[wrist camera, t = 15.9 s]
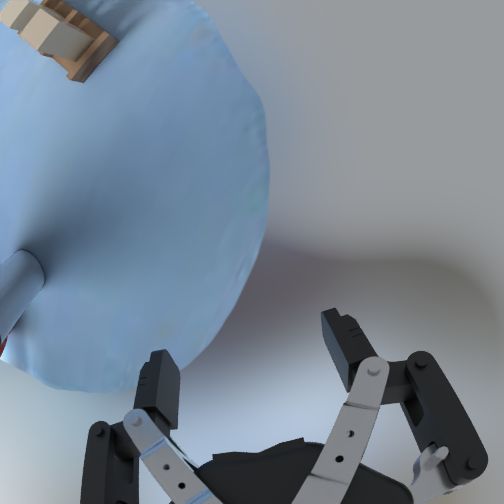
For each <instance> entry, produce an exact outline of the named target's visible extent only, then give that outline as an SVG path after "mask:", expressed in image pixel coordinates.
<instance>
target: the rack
mask: <svg viewBox="0 0 504 504" xmlns="http://www.w3.org/2000/svg"><path fill="white" fill-rule="evenodd" d="M41 4H42V5H44V6H46V7H48V8H50V9H52V10H54V11H56V12H57V13H58V14H60V15H61V16H63V17H64V18H65V19H64V20H65V21H67V22H69V23H70V24H72V25H74V26H76V27H78V28H80V29H81V30H83V31H84V32H85V33H87V34H88V35H89V36H91V37H92V38H94V39H95V41H94V42H93V44H92V45H91V46H90V47H89V48H88V49H87V50H86V52H85V53H84V54H83V55H82V56H81V58H80V59H79V60H78V61H77V62H74V61H71V60H68V59H65V58H61V57H58V56H55V55H51V54H48V53H44V52H40V51H39V53H40V54H41V55H44V56H48V57H51V58H53V59H54V60H55V61H56V62H58V63H59V64H60V65H61V66H62V67H63V68H65V69H66V70H67V71H68V72H69V73H68V74H67V75H66V77H68V78H69V79H70V80H72V81H77V82H82V83H84V82H85V80H86V79H87V78H88V77H89V75H90V74H91V73H92V72H93V70H94V69H95V68H96V67H97V66H98V64H99V63H100V62H101V61H102V60H103V59H104V58H105V57H106V55H107V54H108V53H109V52H110V51H111V50H112V49H113V48H114V47H115V46H116V45H117V44H118V43H119V41H118V40H117V39H115V38H114V37H113V36H111V35H110V34H109V33H107V32H106V31H105V30H103V29H102V28H101V27H99V26H98V25H97V24H95V23H94V22H92V21H91V20H90V19H88V18H87V17H85V16H84V15H83V14H81V13H80V12H78V11H77V10H75V9H74V8H72V7H71V6H69V5H68V4H66V3H65V2H63V1H62V0H43V1H42V2H41ZM21 32H22V31H19V32H18V33H17V34H19V35H20V34H21Z"/></svg>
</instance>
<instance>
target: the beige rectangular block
mask: <svg viewBox="0 0 504 504" xmlns="http://www.w3.org/2000/svg"><path fill="white" fill-rule="evenodd" d="M19 36H20V37H21V38H22V39H23V40H25V41H26V42H27V43H28V44H29V45H31V46H32V47H33V48H34V49H35V50H37V51H40V52H44V53H48V54H51V55H55V56H58V57H61V58H65V59H68V60H71V61H74V62H77V61H78V60H79V59H80V58H81V56H82V55H83V54H84V53H85V52H86V50H87V49H88V48H89V47H90V46H91V45H92V44H93V42H94V41H95V39H94V38H92V37H91V36H89V35H88V34H87V33H85V32H84V31H83V30H81V29H80V28H78V27H76V26H74V25H72V24H70V23H69V22H67V21H65V20H63V19H61V18H59V17H57V16H55V15H53V14H51V13H49V12H47V11H45V10H43V9H41V8H40V9H39V10H38V11H37V13H36V14H35V15H34V16H33V18H32V19H31V20H30V22H29V23H28V24H27V26H26V27H25V28H24V30H23V31H22V32H21V34H20V35H19Z"/></svg>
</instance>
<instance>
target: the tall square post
mask: <svg viewBox="0 0 504 504" xmlns="http://www.w3.org/2000/svg"><path fill="white" fill-rule="evenodd" d="M40 8H41V9H43V10H45V11H47V12H49V13H51V14H53V15H55V16H57V17H59V18H61V19H63V20H64V19H65V18H64V17H63V16H61V15H60V14H58V13H57V12H56V11H54V10H52V9H50V8H48V7H46V6H44V5H42V4H40V3H38V2H36V1H34V0H9V1H8V3H7V4H6V5H5V7H4V8H3V9H2V11H1V12H0V20H1V21H2V22H3V23H4V24H5V25H6V26H8V27H9V28H11V29H15V30H18V31H23V30H24V28H25V27H26V26H27V24H28V23H29V22H30V20H31V19H32V18H33V16H34V15H35V14H36V13H37V11H38V10H39V9H40Z"/></svg>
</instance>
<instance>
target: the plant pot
mask: <svg viewBox="0 0 504 504" xmlns="http://www.w3.org/2000/svg"><path fill="white" fill-rule="evenodd" d="M11 331H12V329H11V330H10V332H9V334H10V333H11ZM9 334H8V335H9ZM8 335H7V337H6V338H5V340H4V341H3V343H2V344H1V346H0V357H1V355H2V353H3V350H4V348H5V345H6V342H7V338H8Z"/></svg>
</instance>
